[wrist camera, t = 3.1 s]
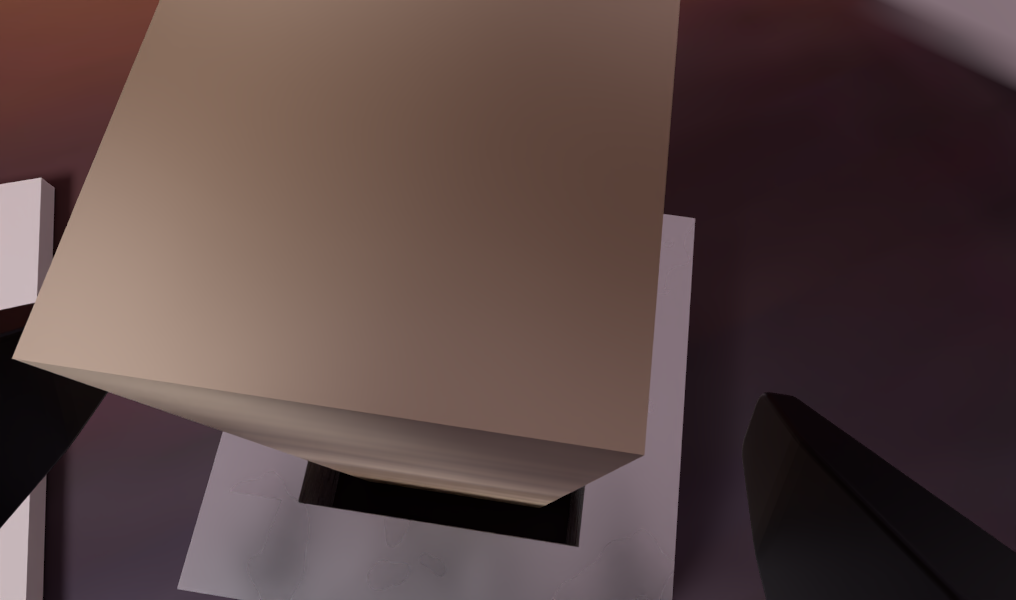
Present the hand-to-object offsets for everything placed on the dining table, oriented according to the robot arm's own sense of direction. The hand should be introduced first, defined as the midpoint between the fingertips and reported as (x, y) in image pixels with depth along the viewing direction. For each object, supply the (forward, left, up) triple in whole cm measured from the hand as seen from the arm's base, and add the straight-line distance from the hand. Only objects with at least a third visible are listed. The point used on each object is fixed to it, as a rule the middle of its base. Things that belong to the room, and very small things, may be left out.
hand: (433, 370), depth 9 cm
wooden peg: (+1, 0, -9) cm, 9 cm away
